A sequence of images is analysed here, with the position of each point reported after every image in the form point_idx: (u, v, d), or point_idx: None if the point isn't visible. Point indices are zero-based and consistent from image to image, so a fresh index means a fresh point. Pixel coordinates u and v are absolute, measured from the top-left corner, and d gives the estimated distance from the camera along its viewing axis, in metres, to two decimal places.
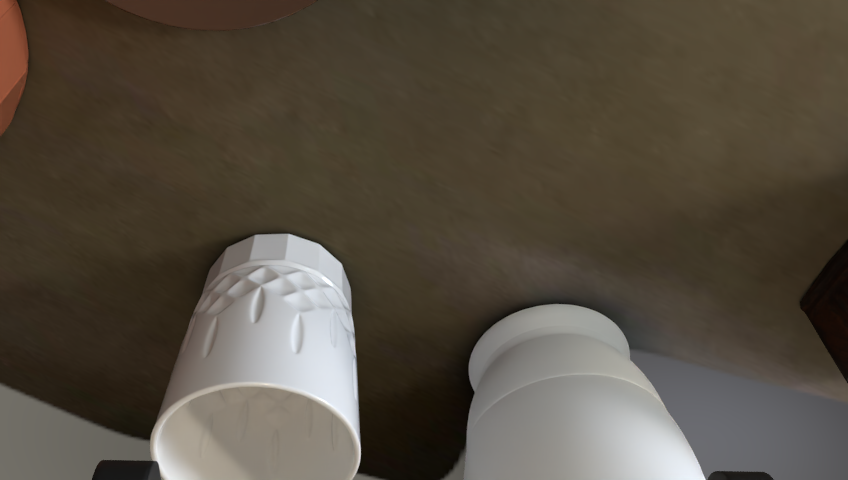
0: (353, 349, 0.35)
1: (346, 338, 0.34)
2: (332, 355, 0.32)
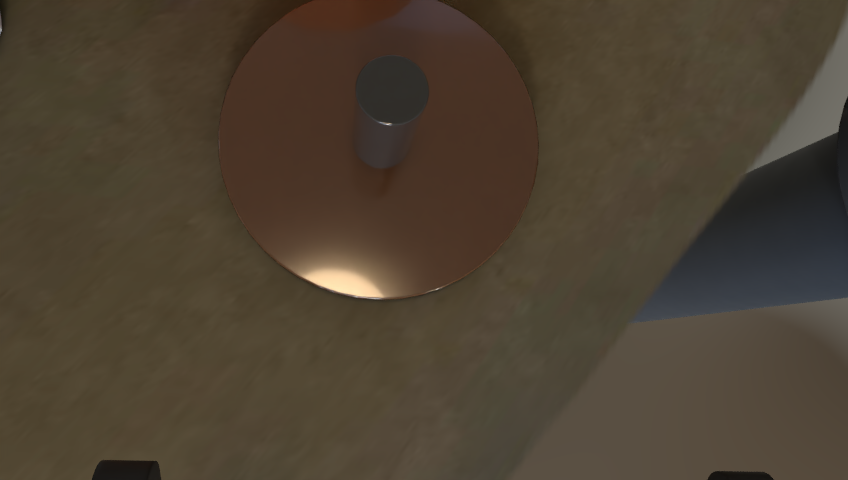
0: None
1: None
2: None
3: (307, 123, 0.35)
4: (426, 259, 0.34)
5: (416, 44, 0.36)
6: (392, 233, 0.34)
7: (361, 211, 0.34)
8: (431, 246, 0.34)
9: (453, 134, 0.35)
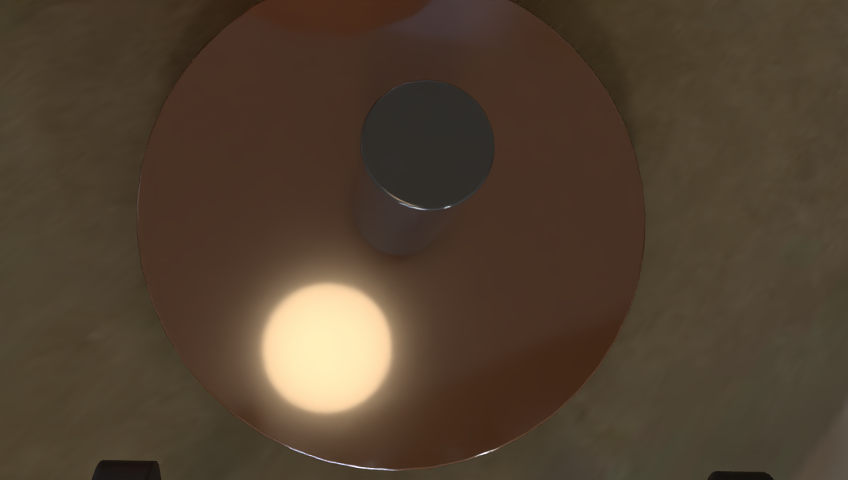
0: None
1: None
2: None
3: (281, 182, 0.22)
4: (469, 404, 0.21)
5: (455, 58, 0.23)
6: (415, 361, 0.21)
7: (365, 325, 0.21)
8: (477, 382, 0.21)
9: (513, 201, 0.22)
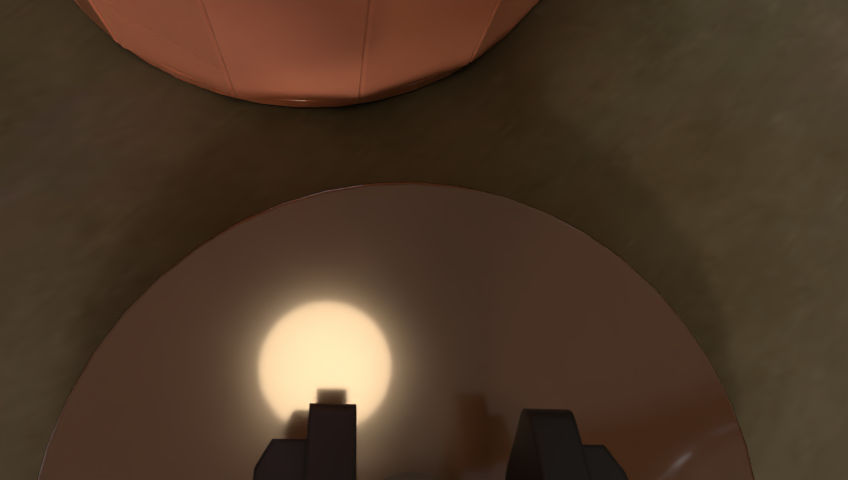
0: None
1: None
2: None
3: None
4: None
5: (490, 312, 0.16)
6: None
7: None
8: None
9: None
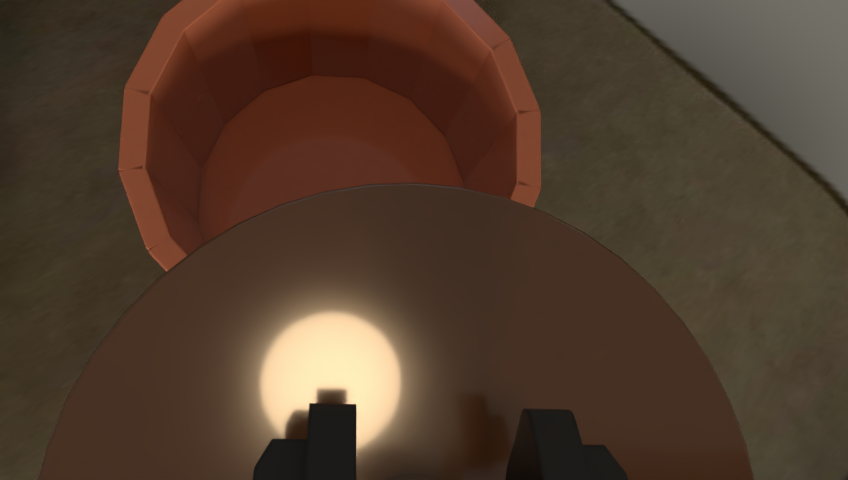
0: None
1: None
2: None
3: None
4: None
5: (490, 313, 0.16)
6: None
7: None
8: None
9: None
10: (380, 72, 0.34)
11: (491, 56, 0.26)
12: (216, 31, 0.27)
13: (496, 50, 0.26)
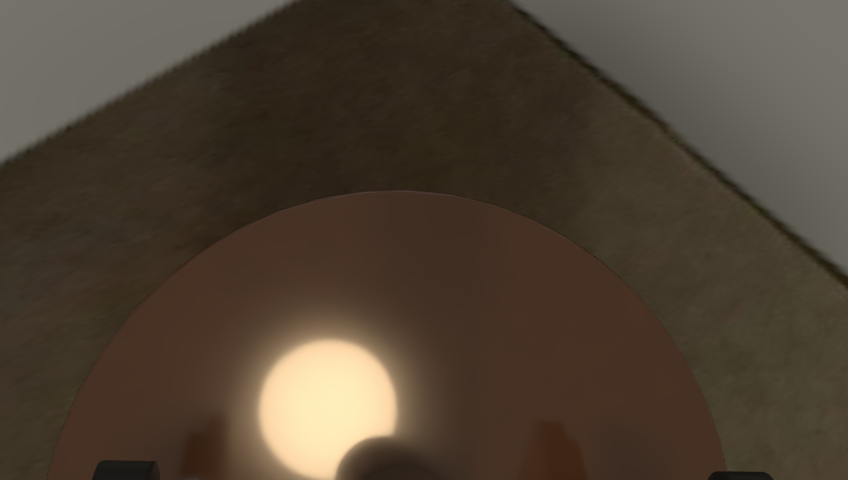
0: None
1: None
2: None
3: None
4: None
5: (478, 313, 0.17)
6: None
7: None
8: None
9: None
10: None
11: None
12: None
13: None
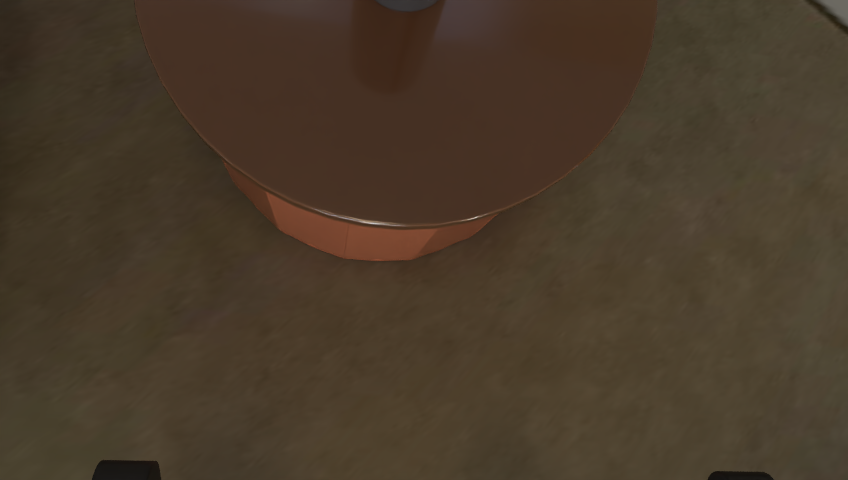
0: None
1: None
2: None
3: None
4: (477, 162, 0.20)
5: None
6: (420, 118, 0.20)
7: (369, 80, 0.20)
8: (485, 141, 0.21)
9: None
10: None
11: None
12: None
13: None
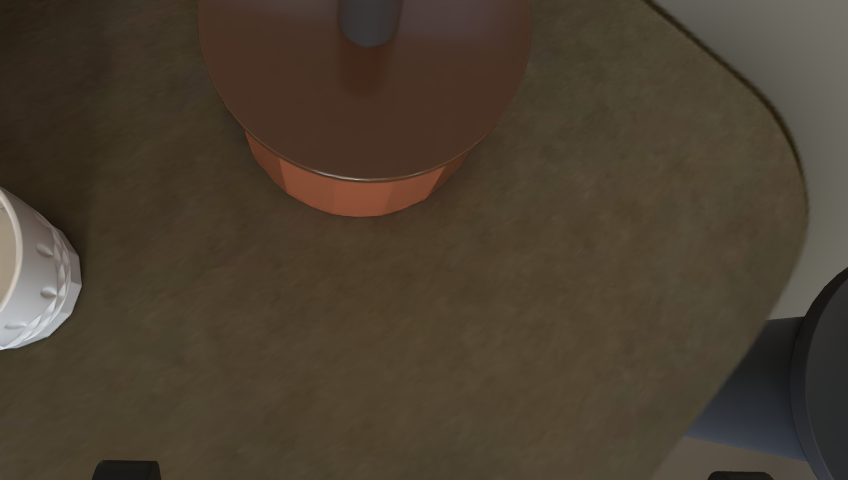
0: None
1: None
2: None
3: None
4: (412, 141, 0.33)
5: None
6: (377, 113, 0.33)
7: (345, 90, 0.33)
8: (418, 128, 0.33)
9: (443, 15, 0.34)
10: None
11: None
12: None
13: None
